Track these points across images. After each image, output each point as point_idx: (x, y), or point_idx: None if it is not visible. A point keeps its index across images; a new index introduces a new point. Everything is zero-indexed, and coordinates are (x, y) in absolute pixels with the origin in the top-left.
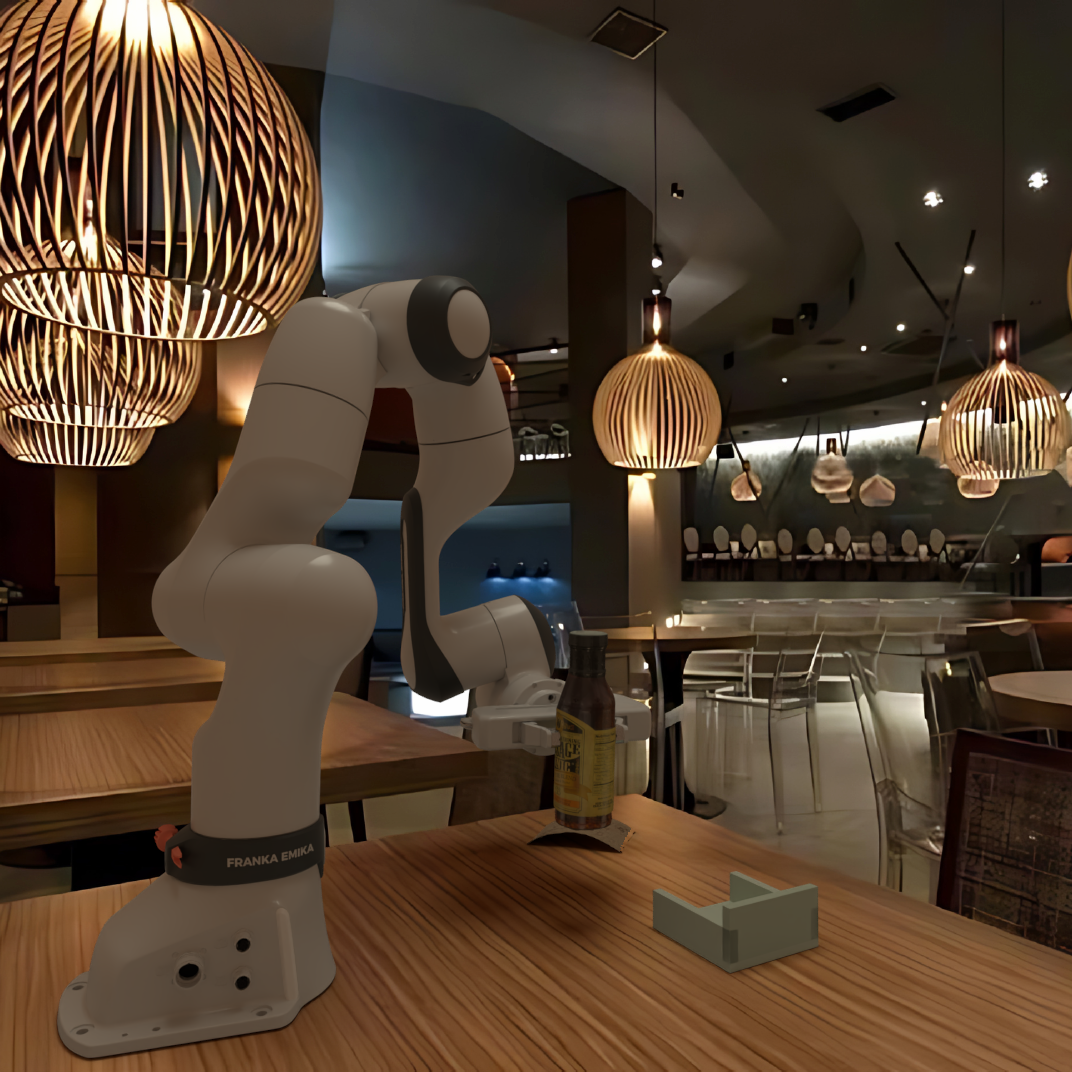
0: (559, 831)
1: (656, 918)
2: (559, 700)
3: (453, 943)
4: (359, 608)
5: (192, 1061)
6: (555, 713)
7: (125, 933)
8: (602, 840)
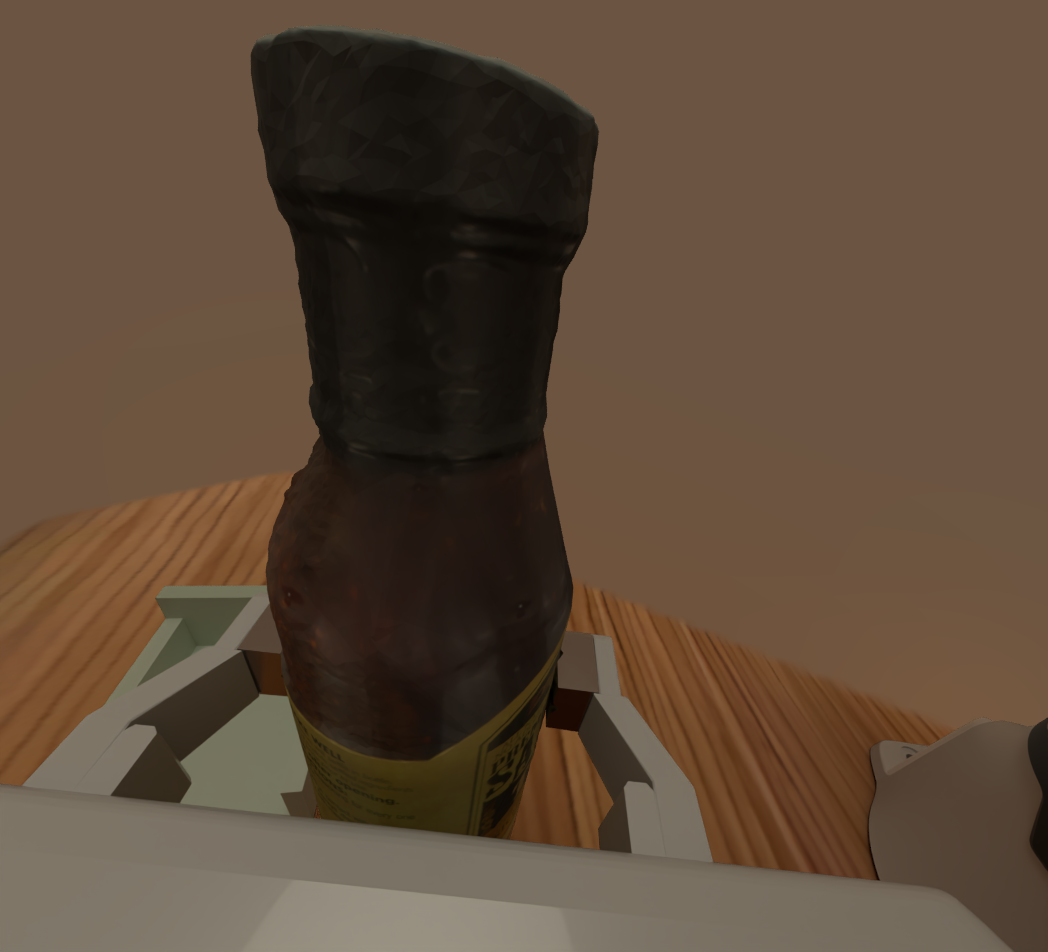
0: None
1: (313, 798)
2: (565, 577)
3: None
4: None
5: (933, 724)
6: (480, 853)
7: None
8: None
